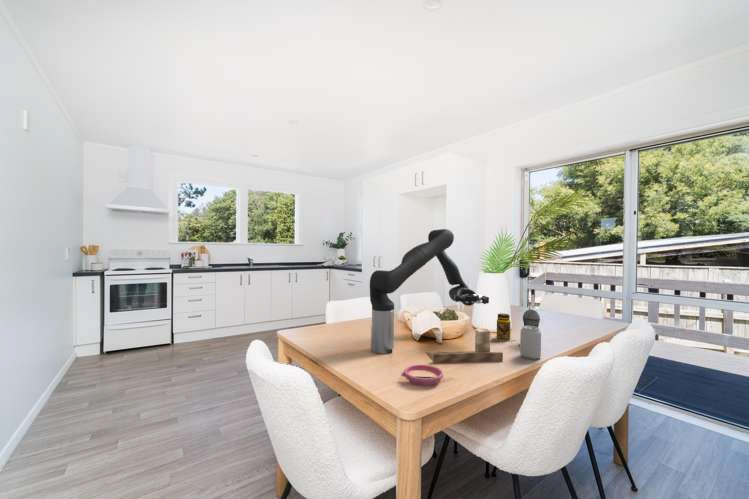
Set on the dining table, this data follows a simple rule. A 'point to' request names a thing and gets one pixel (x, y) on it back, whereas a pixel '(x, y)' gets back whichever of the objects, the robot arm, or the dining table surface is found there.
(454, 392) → the dining table surface
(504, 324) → the condiment
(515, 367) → the dining table surface
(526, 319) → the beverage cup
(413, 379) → the purple round open piece
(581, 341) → the dining table surface
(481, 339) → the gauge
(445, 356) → the board
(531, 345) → the grey square jar
